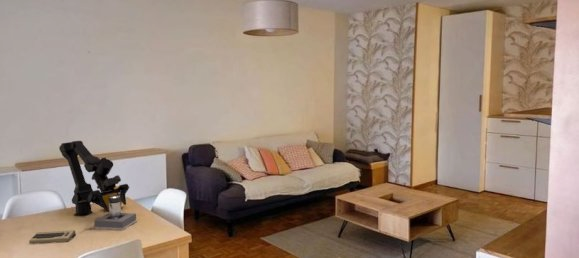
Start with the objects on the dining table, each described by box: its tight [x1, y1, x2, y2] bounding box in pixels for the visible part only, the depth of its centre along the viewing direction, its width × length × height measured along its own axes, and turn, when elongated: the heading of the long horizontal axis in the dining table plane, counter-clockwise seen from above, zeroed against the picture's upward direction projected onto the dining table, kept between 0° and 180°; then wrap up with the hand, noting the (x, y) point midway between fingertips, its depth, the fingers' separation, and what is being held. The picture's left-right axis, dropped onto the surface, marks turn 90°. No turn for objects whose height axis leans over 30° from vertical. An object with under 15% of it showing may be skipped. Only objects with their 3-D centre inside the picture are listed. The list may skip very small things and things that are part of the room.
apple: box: [102, 185, 123, 211], centre depth 219 cm, size 11×11×13 cm
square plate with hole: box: [93, 212, 137, 231], centre depth 195 cm, size 14×12×4 cm
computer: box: [28, 229, 77, 245], centre depth 177 cm, size 16×8×3 cm, turn 98°
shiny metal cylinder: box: [108, 195, 122, 219], centre depth 194 cm, size 5×5×13 cm
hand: (116, 207), depth 193 cm, fingers open, 9 cm apart
